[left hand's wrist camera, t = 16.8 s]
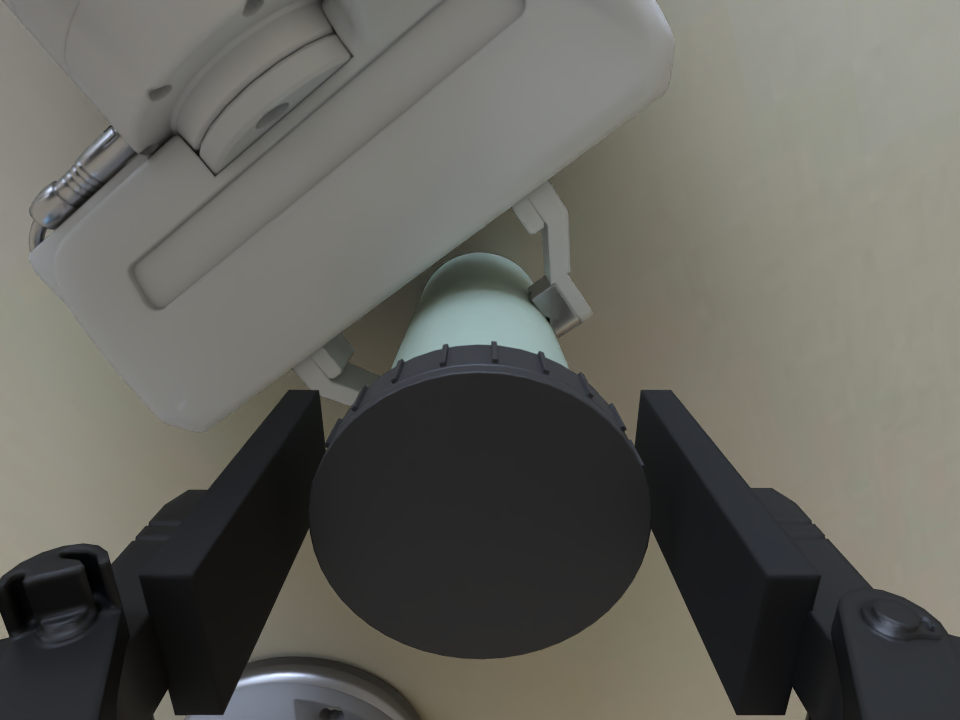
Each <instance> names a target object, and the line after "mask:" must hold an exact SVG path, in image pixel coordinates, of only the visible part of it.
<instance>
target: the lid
mask: <svg viewBox="0 0 960 720" xmlns="http://www.w3.org/2000/svg"><path fill="white" fill-rule="evenodd" d="M625 430H626V427H625V425H624V423H623V421H622V420H621V418H620V416H619V414H618V412H617V410H616V408H615V406H614V405H613V404H612V403H611V404H609V405H608V404H607V402H606V401H605V400H604V399H603V398H602V397H601V396H600V394H599V393H598V392H597V391H596V390H595V389H594V388H593V387H592V386H591V385H589V384H588V382H587V380H586V378H585V375H584V374H582V373H581V372H580V373H579V374H578V375H577V374H576V373H574V372H572V371H571V370H569V369H568V368H566V367H564V366H563V365H561V364H559V363H557V362H555V361H553V360H550V359H548V358H546V357H545V355H544V352H541V351H539V352H538V354H535V353H532V352H529V351H525V350H522V349H517V348H511V347H506V346H500V345H497V341H491V345H480V344H477V345H463V346H454V347H449V346H448V344H443V347H442V349H439V350H434V351H431V352H428V353H426V354H423V355H420V356H417V357H414V358H412V359H410V360H408V361H406V362H404V360H403V359H401V360H399V361H398V362H397V365H396V367H394V368H393V369H391V370H390V371H388V372H387V373H385V374H384V375H382V376H381V377H379V378H378V379H377V380H376V381H374V382H373V383H372V384H371V385H370V386H369V387H367V386H366V385H364V386H363V387H362V388H361V390H360V392H359V394H358V396H357V398H356V400H355V402H354V403H353V404H352V405H351V407H350V408H349V410H348V412H347V413H346V415H345V417H344V418H343V420H341V419H338V420H337V422H336V424H335V426H334V428H333V430H332V432H331V433H330V435H329V437H328V439H327V441H326V443H325V445H324V446H325V447H327V450H326V452H325V454H324V456H323V458H322V460H321V463H320V465H319V467H318V470H317V472H316V474H315V478H314V480H313V482H312V486H311V487H312V489H311V493H310V503H309V526H310V535H311V539H312V544H313V548H314V552H315V555H316V557H317V560H318V562H319V565H320V567H321V570H322V571H323V573H324V575H325V577H326V578H327V580H328V582H329V584H330V585H331V587H332V588H333V589H334V591H335V592H336V593H337V595H338V596H339V597H340V599H341V600H342V601H343V602H344V603H345V604H346V605H347V606H348V607H349V608H350V609H351V610H352V611H353V612H354V613H355V614H356V615H357V616H359V617H360V618H361V619H362V620H364V621H365V622H366V623H367V624H369V625H370V626H372V627H373V628H375V629H376V630H378V631H380V632H381V633H383V634H384V635H386V636H388V637H390V638H392V639H394V640H396V641H399V642H401V643H403V644H405V645H408V646H411V647H413V648H416V649H419V650H422V651H426V652H430V653H434V654H438V655H442V656H449V657H456V658H467V659H492V658H505V657H511V656H517V655H523V654H527V653H531V652H534V651H538V650H542V649H544V648H547V647H550V646H552V645H555V644H558V643H560V642H562V641H564V640H566V639H568V638H570V637H572V636H574V635H576V634H578V633H579V632H581V631H582V630H584V629H585V628H587V627H589V626H590V625H592V624H593V623H594V622H596V621H597V620H598V619H599V618H600V617H602V616H603V615H604V614H605V613H606V612H608V611H609V610H610V609H611V608H612V606H613V605H614V604H615V603H616V602H617V601H618V600H619V599H620V598H621V597H622V595H623V594H624V593H625V591H626V590H627V588H628V587H629V586H630V584H631V583H632V581H633V580H634V578H635V576H636V574H637V572H638V570H639V568H640V566H641V564H642V561H643V558H644V555H645V553H646V550H647V547H648V542H649V536H650V531H651V515H652V507H651V499H650V491H649V487H648V484H647V480H646V477H645V473H644V469H645V466H644V463H643V462H642V460H641V458H640V456H639V454H638V452H637V450H636V448H635V446H634V445H633V443H632V441H631V440H628V438H627V436H626V434H625V432H624V431H625Z"/></svg>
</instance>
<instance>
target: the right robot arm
mask: <svg viewBox="0 0 960 720" xmlns="http://www.w3.org/2000/svg"><path fill="white" fill-rule="evenodd" d="M3 1H4V3H5V4H6V5H7V6H8V8H9V9H10V10H11V11H12V12H13V13H14V14H15V16H16V17H17V18H18V19H19V20H20V21H21V22H22V24H23V25H24V26H25V27H26V28H27V29H28V30H29V32H30V33H31V34H32V35H33V36H34V37H35V38H36V40H37V41H38V42H39V43H40V44H41V45H42V46H43V48H44V49H45V50H46V51H47V52H48V53H49V54H50V55H51V57H52V58H53V59H54V60H55V61H56V62H57V63H58V65H59V66H60V67H61V68H62V69H63V70H64V71H65V73H66V74H67V75H68V76H69V77H70V78H71V79H72V81H73V82H74V83H75V84H76V85H77V86H78V87H79V88H80V89H81V90H82V92H83V93H84V94H85V95H86V96H87V97H88V98H89V100H90V101H91V102H92V103H93V104H94V105H95V106H96V108H97V109H98V110H99V111H100V112H101V113H102V115H103V116H104V117H105V118H106V119H107V120H108V121H109V123H110V124H111V125H110V126H109V127H108V128H107V129H106V130H105V131H104V133H103V134H101V135H100V136H99V137H98V138H97V139H96V140H95V141H94V142H93V143H92V144H91V145H90V146H89V147H88V148H87V149H86V150H85V151H84V152H83V153H82V154H81V156H80V157H79V158H78V159H77V161H76V162H75V164H74V165H73V166H72V167H71V169H70V170H69V171H68V172H67V173H66V174H65V175H64V176H63V177H61V178H60V179H59V180H58V181H54V182H52V183H51V184H49V185H48V186H46V187H45V188H44V189H43V190H42V191H41V192H40V193H39V194H38V195H37V196H36V198H35V199H34V201H33V202H32V204H31V206H30V208H29V213H30V216H31V217H32V218H33V220H34V221H33V223H32V225H31V228H30V233H29V248H30V252H31V253H30V255H29V261H30V263H31V265H32V267H33V269H34V270H35V272H36V273H37V275H38V276H39V277H40V278H41V279H42V280H43V281H44V282H45V283H46V284H47V285H48V286H49V287H50V288H51V289H52V290H53V291H54V292H55V293H56V294H57V295H58V296H59V297H60V298H61V299H62V300H63V301H64V302H65V303H66V304H67V306H68V307H69V309H70V310H71V312H72V313H73V315H74V316H75V318H76V319H77V321H78V322H79V323H80V325H81V326H82V328H83V329H84V330H85V332H86V333H87V334H88V336H89V337H90V338H91V340H92V341H93V343H94V344H95V345H96V346H97V348H98V349H99V350H100V351H101V353H102V354H103V355H104V356H105V358H106V359H107V360H108V362H109V363H110V364H111V365H112V367H113V368H114V369H115V370H116V371H117V373H118V374H119V375H120V376H121V377H122V379H123V380H124V381H125V382H126V383H127V384H128V386H129V387H130V388H131V389H132V390H133V391H134V392H135V394H136V395H137V396H138V397H139V398H140V399H141V400H142V402H143V403H144V404H145V405H146V406H147V407H148V408H149V409H150V410H151V411H152V412H153V413H154V414H155V415H156V416H157V417H158V418H159V419H160V420H161V421H163V422H164V423H166V424H168V425H170V426H174V427H178V428H181V429H185V430H189V431H193V432H198V433H201V432H206V431H208V430H209V429H211V428H212V427H214V426H215V425H216V424H218V423H219V422H220V421H222V420H223V419H224V418H226V417H227V416H228V415H230V414H231V413H233V412H234V411H235V410H237V409H238V408H239V407H241V406H242V405H243V404H245V403H246V402H247V401H249V400H250V399H252V398H253V397H254V396H256V395H257V394H258V393H260V392H261V391H262V390H264V389H265V388H266V387H268V386H269V385H271V384H272V383H273V382H275V381H276V380H277V379H279V378H280V377H281V376H283V375H284V374H285V373H287V372H288V371H289V370H291V369H292V370H293V371H294V372H295V373H296V374H297V375H298V376H299V377H300V378H301V380H302V381H303V382H304V383H305V384H306V385H307V386H308V387H309V388H310V390H319V394H320V396H323V397H325V398H328V399H331V400H334V401H337V402H339V403H342V404H345V405H348V406H351V405H352V404H353V403H354V402H355V400H356V398H357V396H358V394H359V392H360V390H361V388H362V387H363V386H364V385H366V386H367V387H369V386H370V385H371V384H372V383H373V382H374V381H376V380H377V379H378V378H379V377H380V376H378V375H376V374H373V373H371V372H369V371H366V370H364V369H362V368H360V367H357V366H355V365H353V364H351V363H348V361H349V360H350V358H351V357H352V355H353V354H354V348H353V347H352V346H351V345H350V344H349V342H348V341H347V340H346V339H345V338H344V336H343V335H342V334H341V332H342V331H344V330H345V329H346V328H348V327H349V326H350V325H352V324H353V323H355V322H356V321H357V320H359V319H360V318H361V317H363V316H364V315H365V314H367V313H368V312H369V311H371V310H372V309H374V308H375V307H376V306H378V305H379V304H380V303H382V302H383V301H384V300H386V299H387V298H388V297H390V296H391V295H393V294H394V293H395V292H397V291H398V290H399V289H401V288H402V287H403V286H405V285H406V284H407V283H409V282H410V281H411V280H413V279H414V278H416V277H417V276H418V275H420V274H421V273H422V272H424V271H425V270H426V269H428V268H429V267H430V266H432V265H433V264H435V263H436V262H437V261H439V260H440V259H441V258H443V257H444V256H445V255H447V254H448V253H449V252H451V251H452V250H454V249H455V248H456V247H458V246H459V245H460V244H462V243H463V242H464V241H466V240H467V239H468V238H470V237H471V236H472V235H474V234H475V233H477V232H478V231H479V230H481V229H482V228H483V227H485V226H486V225H487V224H489V223H490V222H491V221H493V220H494V219H496V218H497V217H498V216H500V215H501V214H502V213H504V212H505V211H506V210H508V209H509V208H510V207H511V208H512V210H513V211H514V213H515V214H516V215H517V217H518V218H519V220H520V221H521V223H522V224H523V225H524V227H525V228H526V230H527V231H528V233H529V234H536V233H537V232H538V231H540V230H542V244H543V258H544V272H545V276H543V277H542V278H541V279H539V280H538V281H537V282H535V283H534V284H532V285H531V286H530V287H528V288H527V289H528V292H529V294H530V298H531V300H532V302H533V303H534V305H535V306H536V307H537V309H538V310H539V311H540V312H541V313H542V315H543V316H545V317H547V319H548V322H549V324H550V326H551V328H552V329H553V331H554V333H555V334H556V335H557V337H561V336H562V335H564V334H565V333H567V332H569V331H570V330H572V329H573V328H575V327H576V326H578V325H579V324H581V323H582V322H584V321H585V320H587V319H588V318H590V317H591V316H593V315H594V313H593V311H592V310H591V308H590V307H589V305H588V304H587V302H586V301H585V299H584V298H583V296H582V295H581V293H580V292H579V290H578V289H577V287H576V286H575V284H574V283H573V281H572V280H571V278H570V277H569V275H568V274H569V273H570V272H571V265H570V240H569V215H568V210H567V209H566V207H565V205H564V204H563V202H562V201H561V199H560V198H559V196H558V194H557V193H556V191H555V190H554V188H553V187H552V185H551V184H550V182H549V180H548V179H550V178H551V177H552V176H554V175H555V174H557V173H558V172H559V171H561V170H562V169H563V168H565V167H566V166H567V165H569V164H570V163H571V162H573V161H574V160H575V159H577V158H578V157H580V156H581V155H582V154H584V153H585V152H586V151H588V150H589V149H590V148H592V147H593V146H594V145H596V144H597V143H599V142H600V141H601V140H603V139H604V138H605V137H607V136H608V135H609V134H611V133H612V132H613V131H615V130H616V129H618V128H619V127H620V126H622V125H623V124H624V123H626V122H627V121H628V120H630V119H631V118H632V117H634V116H635V115H636V114H638V113H639V112H641V111H642V110H643V109H645V108H646V107H647V106H649V105H650V104H651V103H653V102H654V101H655V100H657V99H658V98H659V97H661V96H662V95H663V94H664V93H665V92H666V91H667V89H668V87H669V83H670V79H671V72H672V66H673V57H674V46H675V45H674V38H673V35H672V32H671V29H670V27H669V25H668V23H667V21H666V19H665V17H664V15H663V13H662V11H661V9H660V7H659V6H658V4H657V2H656V0H3ZM47 229H51V230H55V231H53V232H52V233H51V234H50V235H49V236H48V237H47V238H46V239H45V240H44V238H45V233H46V230H47ZM581 321H582V322H581Z"/></svg>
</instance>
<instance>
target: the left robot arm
mask: <svg viewBox="0 0 960 720" xmlns="http://www.w3.org/2000/svg"><path fill="white" fill-rule="evenodd" d="M324 445H325V440H324V431H323V421H322V412H321V403H320V394H319V390H289V391H288V392H287V393H286V394H285V395H284V397H283V398H282V399H281V400H280V402H279V403H278V404H277V405H276V407H275V408H274V409H273V410H272V411H271V413H270V414H269V415H268V416H267V418H266V419H265V420H264V421H263V423H262V424H261V425H260V426H259V427H258V429H257V430H256V431H255V432H254V434H253V435H252V436H251V437H250V439H249V440H248V441H247V442H246V443H245V445H244V446H243V447H242V448H241V450H240V451H239V452H238V453H237V455H236V456H235V457H234V458H233V459H232V461H231V462H230V463H229V464H228V466H227V467H226V468H225V469H224V471H223V472H222V473H221V474H220V476H219V477H218V478H217V479H216V480H215V482H214V483H213V484H212V485H211V487H210V488H209V489H208V490H188V491H186V492H184V493H183V494H181V495H180V496H178V497H176V498H175V499H173V500H172V501H170V502H169V503H167V504H165V505H164V506H163V507H162V509H161V510H160V511H159V512H158V513H157V514H156V515H155V516H154V517H153V519H152V520H151V521H150V522H149V526H145V527H144V529H143V530H142V531H141V532H140V533H139V534H138V535H137V536H136V540H135V541H132V542H131V543H130V544H129V545H128V546H127V547H126V549H125V550H124V551H123V552H122V553H121V554H120V555H119V556H118V557H117V559H116V560H115V561H114V562H113V563H112V564H111V563H110V559H109V556H108V552H107V551H106V550H104V549H103V548H101V547H100V546H99V545H91V544H75V545H67V546H62V547H59V548H55V549H52V550H49V551H46V552H42V553H40V554H38V555H36V556H34V557H32V558H30V559H28V560H26V561H24V562H22V563H20V564H18V565H17V566H16V567H14V568H13V569H12V570H10V571H9V572H7V573H6V574H5V575H3V576H2V577H1V579H0V613H1V616H2V618H3V621H4V623H5V626H6V629H7V631H8V634H9V638H5V639H1V640H0V720H155V719H154V716H153V714H154V712H155V710H156V709H157V707H158V705H159V703H160V702H161V700H162V698H163V697H164V695H165V693H166V691H167V690H169V694H170V698H171V701H172V705H173V709H174V713H175V715H186V717H185V719H184V720H420V719H419V717H418V715H417V714H416V712H415V711H414V709H413V708H412V707H411V706H410V704H409V703H408V702H407V701H406V700H405V699H404V698H403V697H402V696H401V695H400V694H399V693H398V692H397V691H395V690H394V689H393V688H392V687H390V686H389V685H387V684H386V683H384V682H383V681H381V680H380V679H378V678H376V677H374V676H372V675H371V674H368V673H366V672H364V671H362V670H360V669H357V668H354V667H351V666H349V665H345V664H342V663H338V662H334V661H330V660H325V659H318V658H310V657H278V658H270V659H264V660H259V661H255V662H251V663H247V662H248V660H249V658H250V656H251V654H252V651H253V649H254V647H255V645H256V643H257V640H258V638H259V636H260V634H261V632H262V630H263V627H264V625H265V623H266V621H267V619H268V616H269V614H270V612H271V610H272V608H273V606H274V603H275V601H276V599H277V597H278V595H279V592H280V590H281V588H282V586H283V584H284V582H285V579H286V577H287V575H288V573H289V571H290V568H291V566H292V564H293V562H294V560H295V558H296V555H297V553H298V551H299V549H300V547H301V544H302V542H303V540H304V538H305V536H306V534H307V531H308V529H309V527H310V526H309V503H310V493H311V489H312V487H311V486H312V482H313V480H314V478H315V474H316V472H317V470H318V467H319V465H320V463H321V460H322V458H323V456H324V454H325V452H326V449H325V446H324ZM635 448H636V450H637V452H638V454H639V456H640V458H641V460H642V462H643V463H644V466H645V469H644V473H645V477H646V480H647V484H648V487H649V491H650V499H651V507H652V515H651V529H652V531H653V534H654V536H655V538H656V540H657V542H658V544H659V547H660V549H661V551H662V553H663V555H664V558H665V560H666V562H667V564H668V566H669V568H670V571H671V573H672V575H673V577H674V579H675V582H676V584H677V586H678V588H679V590H680V592H681V595H682V597H683V599H684V601H685V603H686V606H687V608H688V610H689V612H690V614H691V617H692V619H693V621H694V623H695V625H696V627H697V630H698V632H699V634H700V636H701V638H702V641H703V643H704V645H705V647H706V649H707V651H708V654H709V656H710V658H711V660H712V662H713V665H714V667H715V669H716V671H717V673H718V675H719V678H720V680H721V682H722V684H723V686H724V689H725V691H726V693H727V695H728V697H729V699H730V702H731V704H732V706H733V708H734V710H735V713H736V715H785V713H786V709H787V705H788V701H789V698H790V694H791V690H792V687H793V689H794V690H795V692H796V694H797V695H798V697H799V699H800V701H801V702H802V704H803V706H804V707H805V709H806V711H807V716H806V719H805V720H960V637H957V636H953V635H949V634H948V633H947V631H946V630H945V628H944V627H943V626H942V624H941V623H940V622H939V621H938V620H937V619H936V618H934V617H933V616H932V615H931V614H930V613H928V612H927V611H926V610H925V609H923V608H922V607H920V606H918V605H916V604H914V603H913V602H911V601H909V600H907V599H905V598H903V597H901V596H898V595H895V594H892V593H889V592H886V591H883V590H877V589H873V588H872V587H871V586H870V585H869V584H868V582H867V581H866V580H865V579H864V578H863V577H862V576H861V575H860V574H859V572H858V571H857V570H856V569H855V568H854V567H853V566H852V565H851V564H850V563H849V561H848V560H847V559H846V558H845V557H844V556H843V555H842V554H841V553H840V552H839V550H838V549H837V548H836V547H835V546H834V545H833V544H832V543H831V542H830V540H829V539H825V535H824V534H823V533H822V532H821V531H820V529H819V528H818V527H817V526H816V525H815V524H812V522H811V520H810V518H809V517H808V516H807V515H806V514H805V513H804V512H803V511H802V510H801V508H800V507H799V506H798V505H797V504H796V503H795V502H793V501H792V500H790V499H788V498H787V497H785V496H784V495H782V494H780V493H779V492H777V491H776V490H774V489H772V488H750V487H749V485H748V484H747V483H746V482H745V480H744V479H743V478H742V477H741V476H740V474H739V473H738V472H737V471H736V469H735V468H734V467H733V466H732V464H731V463H730V462H729V461H728V460H727V458H726V457H725V456H724V455H723V453H722V452H721V451H720V450H719V448H718V447H717V446H716V445H715V444H714V442H713V441H712V440H711V439H710V437H709V436H708V435H707V434H706V432H705V431H704V430H703V429H702V427H701V426H700V425H699V424H698V423H697V421H696V420H695V419H694V418H693V416H692V415H691V414H690V413H689V411H688V410H687V409H686V408H685V407H684V405H683V404H682V403H681V402H680V400H679V399H678V398H677V397H676V395H675V394H674V393H673V392H672V391H671V390H641V393H640V403H639V412H638V421H637V430H636V440H635Z"/></svg>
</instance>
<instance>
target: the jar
mask: <svg viewBox="0 0 960 720" xmlns="http://www.w3.org/2000/svg"><path fill="white" fill-rule="evenodd" d="M532 284H533V282H532V281H531V279H530V278H529V276H528V275H527V274H526V273H525V271H523V270H522V269H521V268H520V267H519V266H518V265H516V264H515V263H514V262H512V261H510V260H508V259H506V258H504V257H502V256H499V255H495V254H491V253H470V254H465V255H462V256H458V257H456V258H454V259H452V260H450V261H448V262H447V263H445V264H444V265H442V266H441V267H440V268H439V269H438V270H437V271H436V272H435V273H434V274H433V275H432V276H431V278H430V279H429V281H428V282H427V284H426V286H425V288H424V291H423V293H422V295H421V298H420V300H419V303H418V305H417V308H416V310H415V312H414V315H413V317H412V320H411V322H410V324H409V327H408V329H407V332H406V334H405V336H404V339H403V341H402V344H401V346H400V348H399V351H398V353H397V356H396V358H395V360H394V363H393V365H392V368H391V369H393V368H394V367H396V365H397V362H398V361H399V360H401V359H403V360H404V362H406V361H408V360H410V359H412V358H414V357H417V356H420V355H423V354H426V353H428V352H431V351H434V350H439V349H442V347H443V344H448V346H449V347H454V346H463V345H477V344H480V345H491V341H497V345H500V346H506V347H511V348H517V349H522V350H525V351H529V352H532V353H535V354H538V352H539V351H541V352H544V355H545V357H546V358H548V359H550V360H553V361H555V362H557V363H559V364H561V365H563V366H564V367H566V368H568V369H569V367H568V365H567V362H566V360H565V358H564V355H563V353H562V350H561V348H560V346H559V343H558V341H557V338H556V336H555V334H554V331H553V329H552V328H551V326H550V324H549V322H548V319H547V317H545V316H543V315H542V313H541V312H540V311H539V310H538V309H537V307H536V306H535V305H534V303H533V302H532V300H531V298H530V294H529V292H528V289H527V288H528V287H530V286H531V285H532Z"/></svg>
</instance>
